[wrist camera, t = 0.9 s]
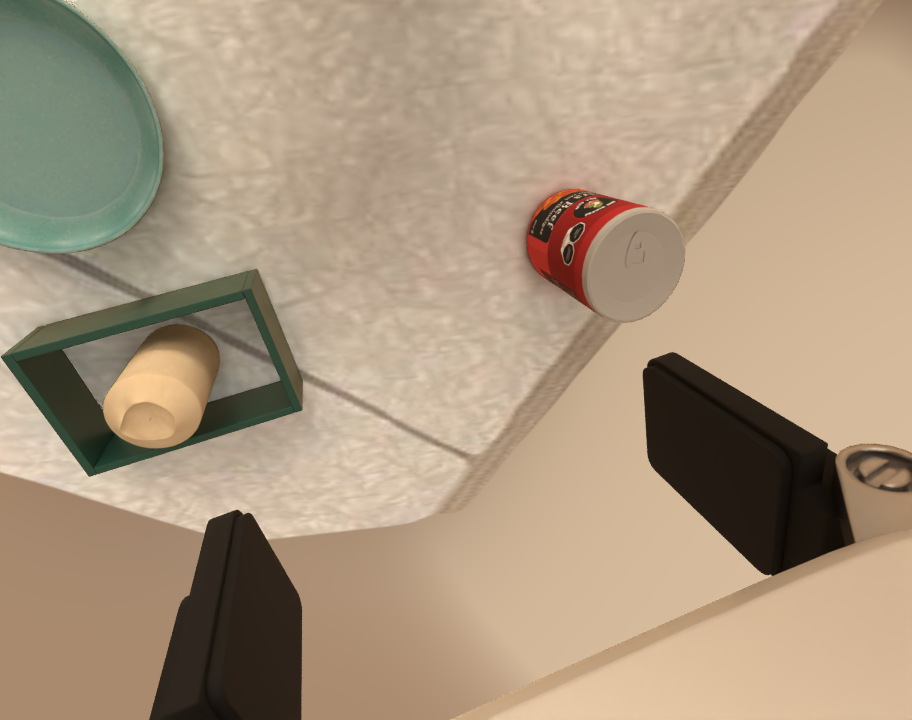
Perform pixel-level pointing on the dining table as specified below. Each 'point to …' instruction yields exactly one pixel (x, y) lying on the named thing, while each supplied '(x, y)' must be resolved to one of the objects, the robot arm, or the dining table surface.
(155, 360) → the candle
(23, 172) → the saucer
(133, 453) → the case
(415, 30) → the dining table surface
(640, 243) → the canned food
